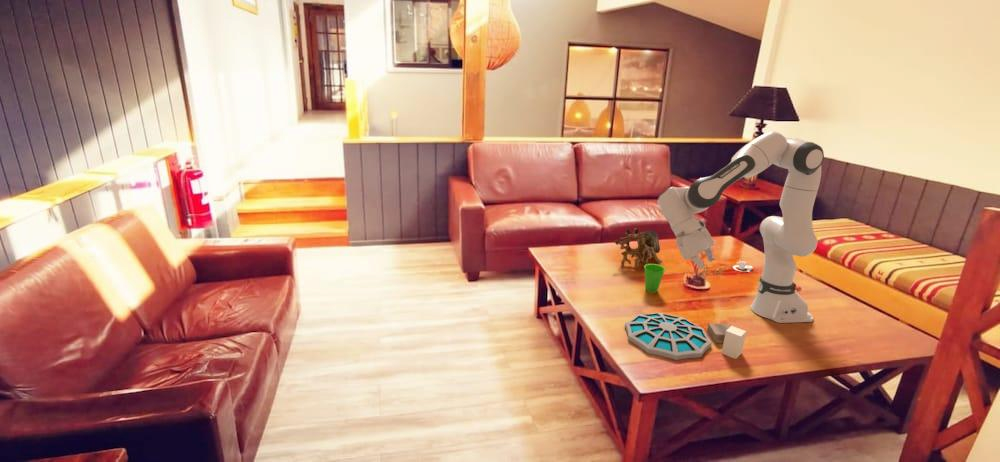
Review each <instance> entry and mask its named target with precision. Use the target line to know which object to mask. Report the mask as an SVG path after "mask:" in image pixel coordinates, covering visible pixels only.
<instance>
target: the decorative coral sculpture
mask: <svg viewBox="0 0 1000 462" xmlns="http://www.w3.org/2000/svg"><path fill="white" fill-rule="evenodd" d="M625 230H626V231H624V232H625V236H626V237H619V239H616V240H615V241H614V243H615V245H617V246H618V245H620V250H625V251H623V252H621V255H622V257H623V258H622V259H621V261H620V265H622V266H624V265H625V262H627V263H628V264H629V265H632V262H631V260H629V259H628V255H629V256H630V257H631V259H634V258H635V259H634V266H633V268H634V269H636V268H637V266H638V264H639V263H640V262H643V264H642V266H643V268H644V266H645V265H646V264H649V260H651V259H652V258H653V259H654V260H655V261H656V262H657V265H662V263H663V260H661V259H659V257H658V255H657V254H658V253H660V252H661V251H660V250H661V247H660V239H659V236H658V233H657V232H656V231H655V230H643V231H642V232H639V229H638V227H635V228H634V231H633V232H632V230H630V229H629V228H628V227H627V228H626V229H625ZM631 239H635V240H636V241H637V242H636V243H637V247H636V248H633V247H632V248H631V246H630V243H631V241H630V240H631ZM620 240H622V241H620Z"/></svg>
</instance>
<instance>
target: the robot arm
mask: <svg viewBox="0 0 1000 462" xmlns="http://www.w3.org/2000/svg"><path fill="white" fill-rule="evenodd" d="M824 154H825V153H824V150H823V147H822V146H820V145H819V144H818V143H815V142H811V141H807V140H804V139H802V138H801V139H800V138H792V137H791V138H790V137H785V136H784V135H783V134H782V133H780V132H778V131H768V132H766V133H765V132H764V133H763V134H761V135H759V136H757V137H756V138H754V139H753V140H751V141H750V142H749V141H748V143H746V144H744V146H742V147H741V148H740V149H739V150H737V152H735V154H734V155H733V156H732V157H731V159H730V160H731V161H730V162H729V163H728V164H727V165H726V166H724V167H722V168H721V169H719V170H718V171H717V172H715V173H714V174H712V175H709V176H705V177H700V178H698V179H696V180H695V181H693V182H692V183H691V184H690V185H689V186H686V187H677V186H676V187H675V186H670V187H668V188H667V189H665V190H664V191H663V192H662V193H660V195H658V197H657V205H658V208H659V209H660V211H661V213H662V216H663V217H664V218H665V220H667V222H668V223H669V226H670V229H671V230H672V232H673V234H674V236H675V237H676V238H675V240H676V243H675V244H676V247H677V248H678V251H679V252H680V254H681V256H682V258H683V259H684V260H691V261H692V262H693V263H694V264H696V266H698V268H699V269H702V268H704V267H705V266H706V264H705V262H704V261H703V260H701V259H700V258H699V257H700V256H699V254H701V253H702V252H704V253H705V254H706V256H707V260H708V262H710V263H712V262H714V261H715V260H716V258H715V257H714V253H713V250H712V247H714V246H715V243H714V242H715V241H714V239H713V238H712V236H711V233H710V232H709V230H708V229H707V228H706V224H705V222H704V221H702V220H699V219H696V217H695V214H699V213H702V212H704V211H707V209H709V208H710V207H712V206H714V205H716V203H718V202H719V199H721V196H722V194H723V192H724V191H726V190H727V188H729V187H730V186H732V185H733V184H735V183H736V182H737V181H739V180H740V179H742V178H746V179H749V178H752V177H755V176H757V175H759V174H761V173H763V171H765V170H766V169H768V168H769V167H771V165H774V166H777V167H779V168H782V169H785V170H787V172H788V173H787V175H786V178H785V179H786V180H785V182H784V185H783V187H782V188H783V189H782V192H781V195H780V196H781V197H780V200H779V208H780V209H781V213H782V216H778V215H777V216H776V215H771V216H767V217H766V218H764V219H763V220H762V221H761V223H760V224H759V225H760V226H759V232H760V234H761V236H762V237H761V238H762V241H763V247H764V263H763V267H762V273H761V276H760V278H759V281H758V287H757V293H756V295H755V297H754V300H753V302H752V303H751V304H750V307H749V308H750V309H751V311H752V312H753V313H755V314H756V315H758V316H760V317H762V318H766V319H769V320H771V321H774V322H776V323H781V324H782V323H786V324H787V323H788V324H789V323H812V322H813V320H814V317H813V315H812V314H811V312H809V307H808V303H807V301H806V300H805V299H804V298H803V296H801V295H800V294H798V292H799V293H800V292H802V287H801V286H800V285H797V284H796V283H795V282H794V278H795V274H796V269H797V263H796V261H795V258H794V256H795V257H796V256H797V257H801V258H802V257H807V256H809V255H811V254H812V253H813V252H815V250H816V249H817V247H818V239H817V236H816V234H815V232H814V226H813V209H814V205H815V201H816V198H817V194H818V190H819V189H820V188H819V187H820V184H821V180H822V179H821V178H822V177H821V176H822V164H823V162H824V158H825V157H824V156H825V155H824Z"/></svg>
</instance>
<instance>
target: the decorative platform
mask: <svg viewBox="0 0 1000 462" xmlns="http://www.w3.org/2000/svg"><path fill="white" fill-rule="evenodd" d="M624 328H625V330H626V333H627V334H626V335H627V340H628V342H631V344H634V345H636V346H638V348H640V349H642V350H643V351H644V352H645V353H646V354H649V355H653V356H654V355H655V356H659V357H664V358H667V359H670V360H674V361H679V360H685V359H686V360H687V359H697V358H702V357H703V355H704V353H705V352H707V350H709V349H710V348H711V347H712V344H713V341H711V338H709V337H708V334H707V333H706V330H705V328H703V327H701V326H699V325H697V324H695V323H693V322H692V321H691V320H688V319H686V318H685V317H683V316H682V317H681V316H676V315H670V314H666V313H663V312H653V313H652V312H651V313H642V314H641V313H636V315H635V316H634V317H632V318H631V319H630V320H628V321H626V322H625V323H624Z"/></svg>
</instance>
